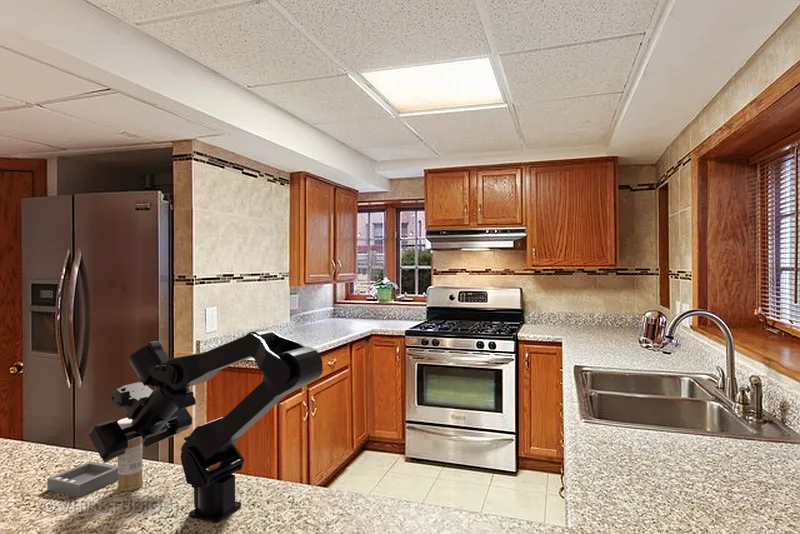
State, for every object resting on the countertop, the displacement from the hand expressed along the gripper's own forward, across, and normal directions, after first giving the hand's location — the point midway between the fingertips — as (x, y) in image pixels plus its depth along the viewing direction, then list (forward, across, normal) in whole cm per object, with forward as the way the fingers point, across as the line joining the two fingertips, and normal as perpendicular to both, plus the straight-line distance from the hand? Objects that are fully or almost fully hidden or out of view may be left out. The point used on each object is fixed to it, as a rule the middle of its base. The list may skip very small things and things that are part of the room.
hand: (125, 452), depth 98 cm
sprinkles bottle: (+4, 0, +6) cm, 7 cm away
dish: (+11, +3, -1) cm, 11 cm away
